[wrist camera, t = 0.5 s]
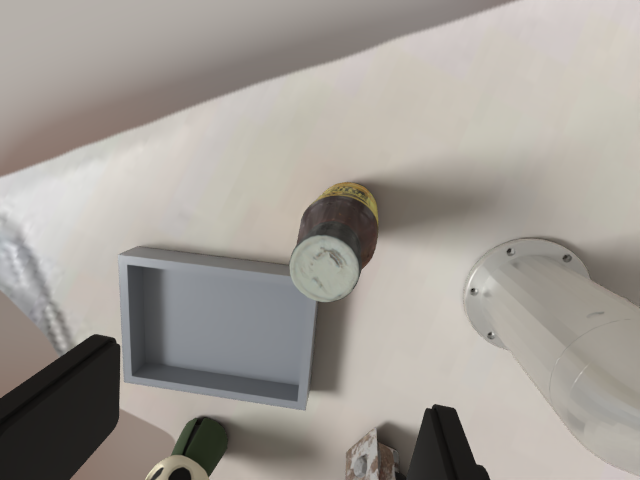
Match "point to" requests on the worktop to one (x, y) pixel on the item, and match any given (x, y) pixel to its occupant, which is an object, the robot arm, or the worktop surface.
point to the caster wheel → (372, 460)
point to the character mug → (193, 453)
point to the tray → (216, 327)
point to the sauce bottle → (335, 242)
